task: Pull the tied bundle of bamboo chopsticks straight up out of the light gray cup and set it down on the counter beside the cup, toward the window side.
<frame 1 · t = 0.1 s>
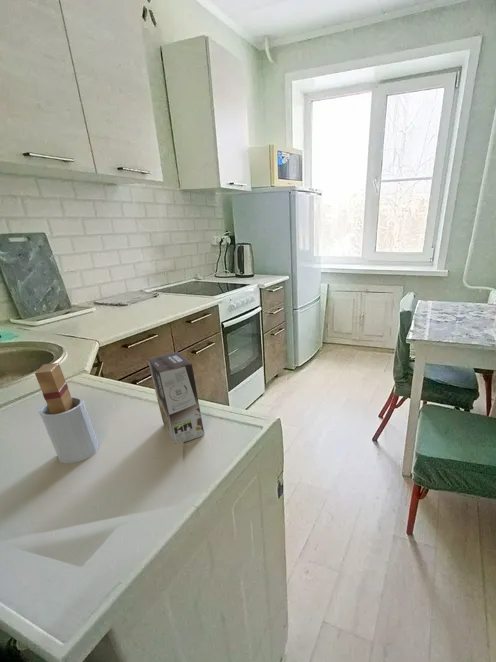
coffee box: (184, 431, 75), on the countertop
chopstick bundle: (79, 451, 69), point 1 cm above the countertop, touching light gray cup
light gray cup: (80, 454, 69), on the countertop
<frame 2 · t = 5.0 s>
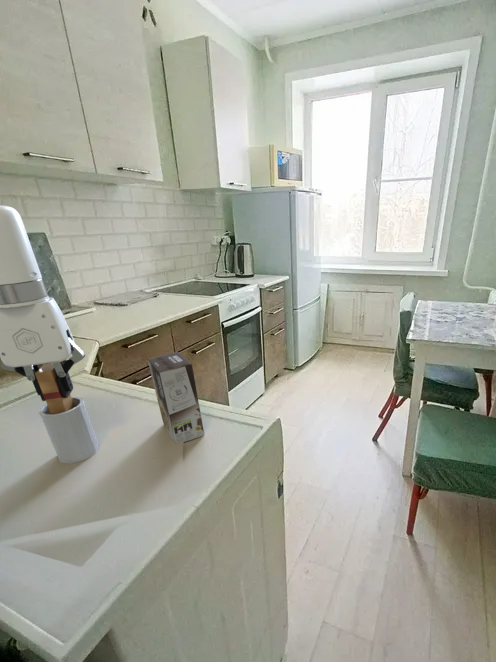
hand: (57, 395, 64), 13 cm above the countertop, tool pointing down, fingers closed on chopstick bundle, 2 cm apart
chopstick bundle: (79, 451, 69), point 1 cm above the countertop, touching gripper, light gray cup
everything else where it was.
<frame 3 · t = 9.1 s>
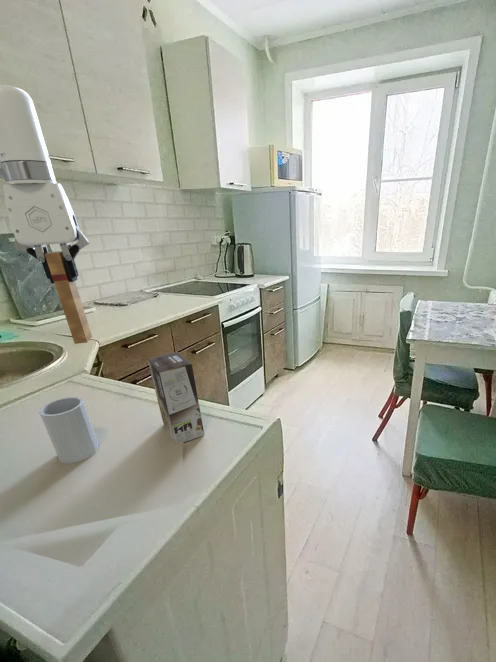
hand: (64, 280, 71), 31 cm above the countertop, tool pointing down, fingers closed on chopstick bundle, 2 cm apart
chopstick bundle: (83, 340, 76), point 18 cm above the countertop, touching gripper
everything else where it was.
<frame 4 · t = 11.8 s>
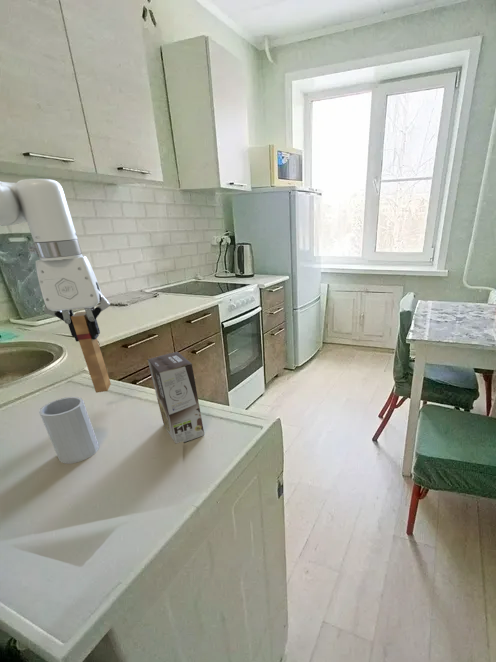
hand: (87, 337, 78), 18 cm above the countertop, tool pointing down, fingers closed on chopstick bundle, 2 cm apart
chopstick bundle: (103, 388, 84), point 5 cm above the countertop, touching gripper
everything else where it was.
when the fingers open (13 cm above the countertop, at t = 13.4 s): chopstick bundle stays where it is, on the countertop.
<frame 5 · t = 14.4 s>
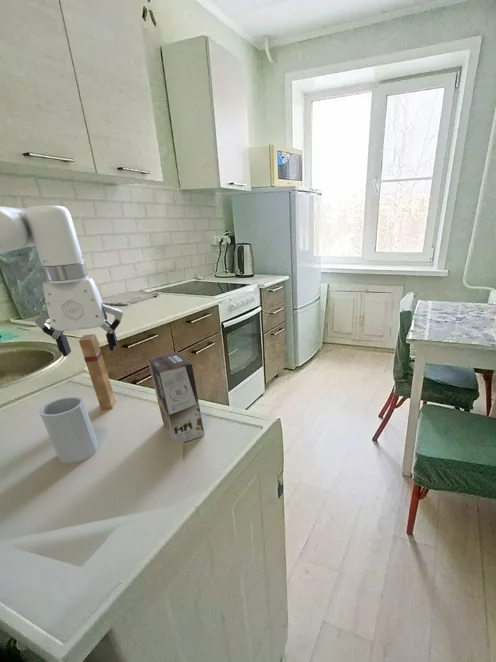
hand: (90, 351, 80), 15 cm above the countertop, tool pointing down, fingers open, 9 cm apart
chopstick bundle: (109, 407, 86), on the countertop
everything else where it was.
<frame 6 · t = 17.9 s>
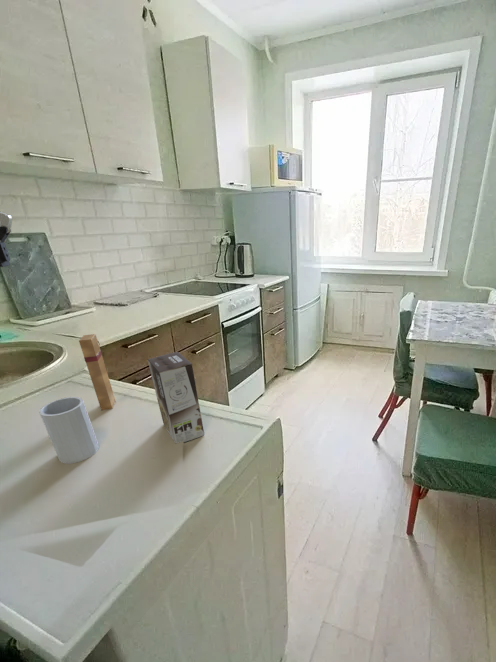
nothing on the countertop moved.
at the end: chopstick bundle inside the target area (0.1 cm from its centre), on the countertop; chopstick bundle moved 18.8 cm from its start; the gripper is holding nothing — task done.
